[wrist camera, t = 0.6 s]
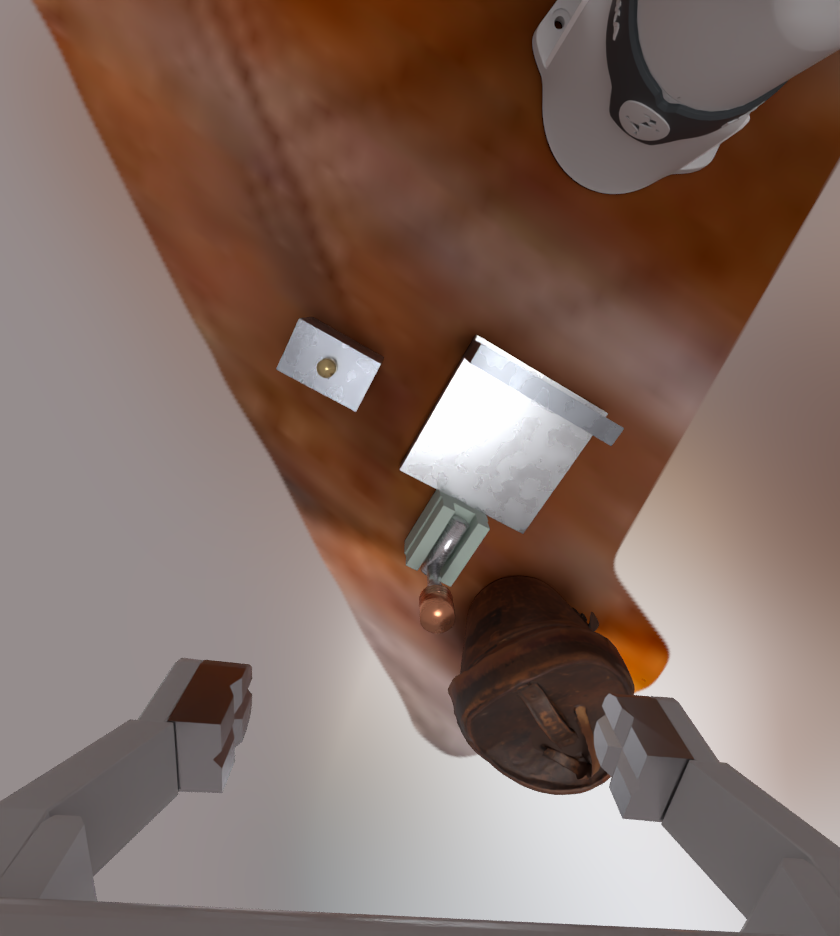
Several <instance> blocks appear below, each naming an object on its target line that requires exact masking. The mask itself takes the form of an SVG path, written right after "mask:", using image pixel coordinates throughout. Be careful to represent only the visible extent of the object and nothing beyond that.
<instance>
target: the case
mask: <svg viewBox="0 0 840 936" xmlns="http://www.w3.org/2000/svg"><path fill="white" fill-rule="evenodd" d="M586 621H587V619H586V617H585V616H584V614H583V613H581V614H579V613H578V612H577V610H576V609H574V608H571V607H570V606H569V605H568V604H567V602H566V601H565V600H564V599H563V598H562V597H561V596H560V595H559V594H558V593H557V592H556V591H555V590H554V589H553V588H552V587H550V586H549V585H547V584H546V583H544V582H542V581H540V580H538V579H535V578H531V577H525V576H515V577H507V578H503V579H500V580H497V581H495V582H493V583H492V584H490V585H488V586H487V587H485V588H484V589H483V590H482V591H481V592H480V593H479V594H478V595H477V596H476V597H475V599H474V601H473V602H472V604H471V606H470V609H469V612H468V616H467V624H466V632H465V640H464V647H463V655H462V662H461V671H460V675H458V676H456V677H455V678H454V679H453V680H452V682H451V684H450V685H449V688H448V693H449V695H450V697H451V699H452V702H453V706H454V714H455V716H456V719H457V723H458V725H459V727H460V730H461V732H462V734H463V736H464V737H465V739H466V741H467V743H468V744H469V745H470V746H471V747H472V749H473V750H474V751H475V752H476V753H477V754H478V755H480V756H481V757H482V758H484V759H485V760H486V761H488V762H489V763H490V764H491V765H492V766H494V767H495V768H496V769H497V770H498V771H500V772H501V773H502V774H504V775H505V776H507V777H508V778H510V779H512V780H513V781H515V782H517V783H518V784H520V785H522V786H524V787H527V788H529V789H532V790H535V791H538V792H542V793H548V794H554V795H566V794H578V793H582V792H586V791H589V790H591V789H593V788H595V787H597V786H599V785H601V784H603V783H604V782H605V781H607V780H608V779H609V778H610V777H611V776H610V775H609V774H608V773H607V772H606V771H605V770H604V769H603V768H602V767H601V766H600V763H599V761H598V758H597V756H596V751H595V747H594V730H595V726H596V723H597V721H598V720H599V719H600V718H601V717H603V716H604V715H605V711H604V709H603V707H602V705H603V702H604V699H605V697H606V696H607V695H608V694H623V695H634V684H633V681H632V678H631V676H630V673H629V671H628V669H627V667H626V665H625V663H624V661H623V659H622V657H621V656H620V654H619V652H618V650H617V649H616V647H615V646H614V645H613V644H612V643H611V642H610V641H609V640H608V638H605V637H603V636H602V635H600V634H598V633H595V632H594V631H595V630H596V629H597V628H598V626H599V622H598V620H597V618H596V616H595V615H594V613H593V612H591V615H590V622H589V624H588V623H587V622H586Z"/></svg>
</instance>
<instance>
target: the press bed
mask: <svg viewBox="0 0 840 936" xmlns="http://www.w3.org/2000/svg"><path fill="white" fill-rule="evenodd" d="M607 414H608V413H606V412H605V411H603V410H601V409H600V408H598V407H596V406H595V405H593V404H591V403H590V402H588V401H586V400H585V399H583V398H581V397H580V396H578V395H576V394H575V393H573V392H571V391H570V390H568V389H566V388H565V387H563V386H561V385H560V384H558V383H556V382H555V381H553V380H551V379H550V378H548V377H546V376H545V375H543V374H541V373H540V372H538V371H536V370H535V369H533V368H531V367H530V366H528V365H526V364H525V363H523V362H521V361H520V360H518V359H516V358H515V357H513V356H511V355H510V354H508V353H506V352H505V351H503V350H501V349H500V348H498V347H496V346H495V345H493V344H491V343H490V342H488V341H486V340H485V339H483V338H481V337H480V336H478V335H475V336H474V338H473V340H472V342H471V343H470V345H469V347H468V349H467V350H466V352H465V354H464V355H463V357H462V359H461V361H460V362H459V364H458V366H457V368H456V369H455V371H454V373H453V374H452V376H451V378H450V380H449V381H448V383H447V385H446V387H445V388H444V390H443V392H442V393H441V395H440V397H439V399H438V400H437V402H436V404H435V406H434V407H433V409H432V411H431V412H430V414H429V416H428V418H427V419H426V421H425V423H424V425H423V426H422V428H421V430H420V432H419V433H418V435H417V437H416V438H415V440H414V442H413V444H412V445H411V447H410V449H409V451H408V452H407V454H406V456H405V457H404V459H403V461H402V463H401V464H400V470H401V471H403V472H405V473H406V474H408V475H410V476H412V477H414V478H416V479H418V480H420V481H422V482H424V483H426V484H428V485H430V486H432V487H433V488H435V489H437V490H439V491H441V492H443V493H445V494H447V495H449V496H451V497H453V498H455V499H457V500H459V501H461V502H462V503H464V504H466V505H468V506H470V507H472V508H474V509H476V510H478V511H480V512H482V513H484V514H486V515H488V516H489V517H491V518H493V519H495V520H497V521H499V522H501V523H503V524H505V525H507V526H509V527H511V528H513V529H515V530H517V531H518V532H520V533H522V534H523V533H524V532H525V530H526V529H527V527H528V526H529V525H530V523H531V522H532V520H533V519H534V517H535V516H536V515H537V513H538V512H539V510H540V509H541V508H542V506H543V505H544V503H545V502H546V501H547V499H548V498H549V496H550V495H551V493H552V492H553V491H554V489H555V488H556V486H557V485H558V484H559V482H560V481H561V479H562V478H563V476H564V475H565V474H566V472H567V471H568V469H569V468H570V467H571V465H572V464H573V462H574V461H575V459H576V458H577V457H578V455H579V454H580V452H581V451H582V450H583V448H584V447H585V445H586V444H587V442H588V441H589V440H590V438H591V437H592V435H593V436H595V437H597V438H598V439H600V440H602V441H604V442H605V443H607V444H609V445H610V446H612V444H613V443H614V442H615V440H616V439H617V438H618V436H619V435H620V433H621V432H622V431H623V429H624V428H623V427H621V426H619V425H618V424H616V423H614V422H612V421H611V420H609V419H607V418H606V416H607Z"/></svg>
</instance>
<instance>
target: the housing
mask: <svg viewBox="0 0 840 936" xmlns="http://www.w3.org/2000/svg"><path fill="white" fill-rule="evenodd" d="M383 359H384V357H383V356H381V355H379V354H378V353H376V352H374V351H372V350H371V349H369V348H367V347H365V346H363V345H362V344H360V343H358V342H356V341H355V340H353V339H351V338H349V337H348V336H346V335H344V334H342V333H340V332H339V331H337V330H335V329H333V328H332V327H330V326H328V325H326V324H324V323H323V322H321V321H319V320H317V319H316V318H314V317H307V318H299V320H298V322H297V324H296V327H295V329H294V331H293V333H292V335H291V338H290V340H289V342H288V344H287V346H286V349H285V351H284V353H283V355H282V358H281V360H280V362H279V364H278V366H277V370H278V371H280V372H282V373H284V374H286V375H288V376H290V377H292V378H293V379H295V380H297V381H299V382H301V383H303V384H305V385H307V386H308V387H310V388H312V389H314V390H316V391H318V392H320V393H322V394H323V395H325V396H327V397H329V398H331V399H333V400H335V401H337V402H338V403H340V404H342V405H344V406H346V407H348V408H350V409H352V410H353V411H355V412H356V411H357V409H358V407H359V405H360V403H361V401H362V399H363V397H364V395H365V393H366V392H367V390H368V388H369V386H370V384H371V382H372V380H373V378H374V376H375V374H376V372H377V371H378V369H379V367H380V365H381V363H382V361H383Z"/></svg>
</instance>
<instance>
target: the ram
mask: <svg viewBox="0 0 840 936" xmlns="http://www.w3.org/2000/svg"><path fill="white" fill-rule="evenodd" d="M468 527H469V524H468V523H467V522H466V521H465V520H464V519H463V518H461V517H459V516H456V515H454V516H453V517H452V518H451V520H450V522H449V523H448V525H447V526H446V528H445V529H444V531H443V532H442V534H441V536H440V537H439V539H438V540H437V542H436V543H435V545H434V546H433V548H432V550H431V551H430V553H429V554H428V556H427V557H426V559H425V560H424V562H423V564H422V565H421V567H420V569H421V571H422V572H423V573H424V574H425V575H427V582H428V587H426V588H425V589H424V590H423V591H422V592H421V594H420V597H419V606H420V623H421V625H422V627H423V628H424V629H425V630H427V631H429V632H431V633H443V632H446V631H448V630H449V629H450V628H451V627H452V626H453V625H454V622H455V612H454V605H453V598H452V594H451V592H450V591H449V589H448V588H446V587H444V586H442V585H441V576H440V570H441V568H442V567H443V565H444V564H445V562H446V561H447V559H448V558H449V556H450V555H451V553H452V552H453V550H454V548H455V547H456V545H457V544H458V542H459V541H460V539H461V538H462V536H463V535H464V533H465V532H466V530H467V529H468Z"/></svg>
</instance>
